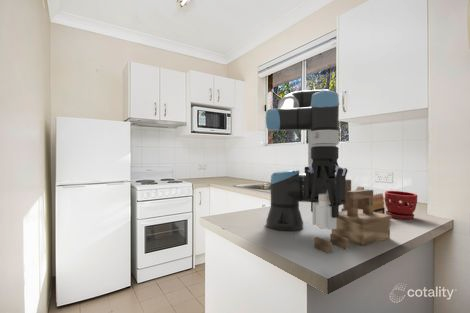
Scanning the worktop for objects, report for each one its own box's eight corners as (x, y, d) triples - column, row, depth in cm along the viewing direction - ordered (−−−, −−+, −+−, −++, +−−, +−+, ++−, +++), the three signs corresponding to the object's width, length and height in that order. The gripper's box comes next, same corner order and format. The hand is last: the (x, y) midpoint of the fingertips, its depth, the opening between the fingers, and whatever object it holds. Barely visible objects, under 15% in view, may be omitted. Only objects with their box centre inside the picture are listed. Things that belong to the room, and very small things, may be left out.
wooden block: (364, 215, 121) (364, 179, 121) (346, 217, 118) (347, 180, 118) (358, 214, 125) (358, 178, 125) (341, 215, 121) (341, 179, 121)
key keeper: (314, 246, 79) (314, 237, 79) (332, 242, 83) (332, 233, 83) (329, 253, 73) (329, 243, 73) (348, 248, 78) (348, 238, 78)
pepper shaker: (334, 229, 69) (334, 195, 69) (320, 229, 68) (320, 195, 69) (327, 225, 73) (327, 193, 73) (314, 225, 72) (314, 193, 73)
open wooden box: (331, 235, 90) (331, 216, 90) (358, 229, 98) (358, 212, 98) (362, 246, 80) (362, 224, 80) (389, 238, 87) (389, 218, 87)
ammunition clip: (373, 221, 110) (374, 194, 110) (369, 220, 112) (369, 194, 112) (384, 218, 117) (384, 193, 117) (380, 217, 118) (380, 192, 118)
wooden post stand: (330, 216, 90) (330, 190, 90) (358, 211, 98) (358, 187, 98) (362, 225, 79) (362, 194, 79) (391, 218, 87) (391, 191, 87)
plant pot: (384, 218, 117) (384, 193, 117) (385, 212, 128) (385, 190, 128) (418, 222, 109) (418, 195, 109) (416, 216, 120) (416, 192, 120)
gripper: (293, 146, 77) (292, 220, 77) (342, 144, 61) (342, 237, 61) (310, 147, 80) (310, 218, 80) (361, 145, 65) (361, 232, 65)
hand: (324, 226), depth 71 cm, fingers closed on pepper shaker, 5 cm apart
